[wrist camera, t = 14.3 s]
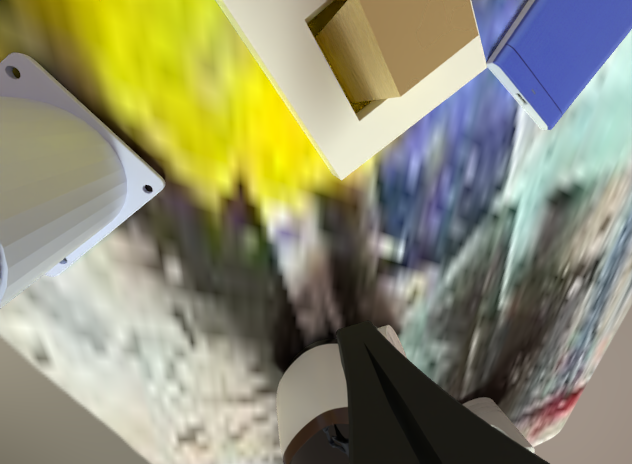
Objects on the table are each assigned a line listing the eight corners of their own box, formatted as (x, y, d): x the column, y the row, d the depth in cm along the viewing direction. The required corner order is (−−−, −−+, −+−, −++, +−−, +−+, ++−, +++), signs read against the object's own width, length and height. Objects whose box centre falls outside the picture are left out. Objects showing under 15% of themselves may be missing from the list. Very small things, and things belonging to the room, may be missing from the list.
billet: (350, 102, 16) (400, 96, 11) (315, 37, 14) (355, -9, 9) (401, 61, 16) (478, 35, 10) (372, -11, 14) (448, -88, 9)
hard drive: (662, -177, 13) (498, 61, 16) (696, -47, 16) (554, 130, 19) (622, -150, 14) (478, 65, 18) (661, -34, 18) (534, 129, 21)
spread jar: (262, 379, 25) (272, 566, 15) (324, 293, 22) (390, 448, 12) (353, 396, 30) (408, 545, 19) (412, 328, 27) (513, 458, 17)
